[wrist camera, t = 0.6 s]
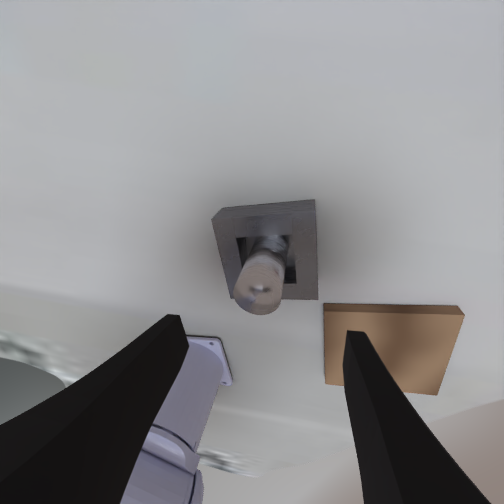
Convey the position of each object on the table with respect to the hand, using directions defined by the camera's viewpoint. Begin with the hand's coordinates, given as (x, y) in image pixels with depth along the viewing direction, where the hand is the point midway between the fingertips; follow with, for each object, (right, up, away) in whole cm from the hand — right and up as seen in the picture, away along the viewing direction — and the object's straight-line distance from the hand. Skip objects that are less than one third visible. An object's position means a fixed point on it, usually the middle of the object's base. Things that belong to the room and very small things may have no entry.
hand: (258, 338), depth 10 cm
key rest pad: (+12, -5, +12) cm, 17 cm away
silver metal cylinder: (+1, +4, +9) cm, 9 cm away
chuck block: (+1, +4, +9) cm, 10 cm away
